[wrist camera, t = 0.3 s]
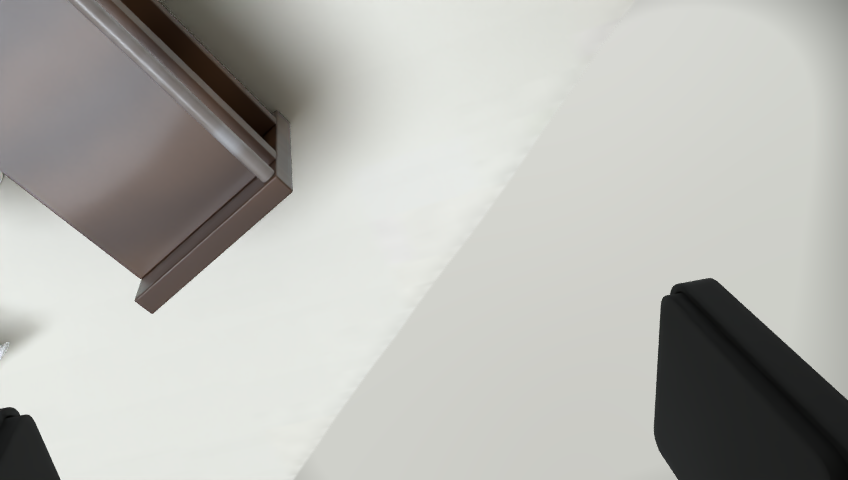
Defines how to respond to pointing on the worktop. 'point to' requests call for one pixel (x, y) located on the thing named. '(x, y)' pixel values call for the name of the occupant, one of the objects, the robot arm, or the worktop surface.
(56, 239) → the worktop surface
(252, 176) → the rack
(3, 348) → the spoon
